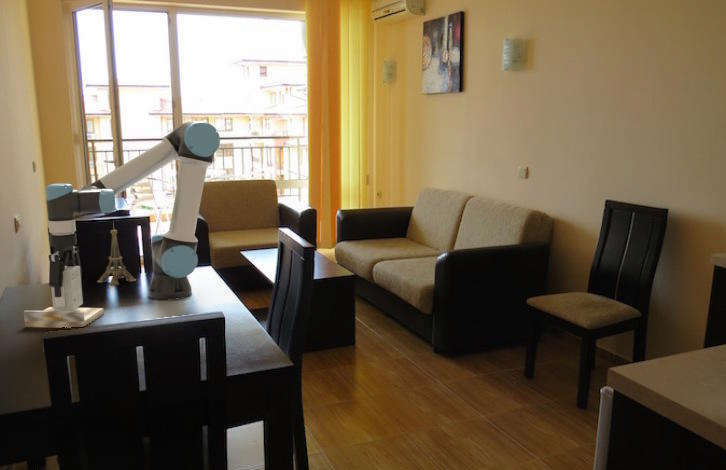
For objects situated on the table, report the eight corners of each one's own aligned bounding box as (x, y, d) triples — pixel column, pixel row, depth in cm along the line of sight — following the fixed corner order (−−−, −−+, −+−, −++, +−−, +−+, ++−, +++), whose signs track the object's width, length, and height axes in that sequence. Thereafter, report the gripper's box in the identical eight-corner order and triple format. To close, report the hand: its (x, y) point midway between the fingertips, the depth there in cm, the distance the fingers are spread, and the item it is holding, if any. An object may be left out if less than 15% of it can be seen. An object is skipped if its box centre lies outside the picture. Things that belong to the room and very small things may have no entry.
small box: (63, 304, 189) (60, 265, 186) (83, 303, 189) (80, 265, 187) (52, 311, 181) (49, 271, 178) (73, 311, 181) (70, 271, 179)
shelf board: (103, 313, 190) (102, 299, 190) (82, 328, 176) (81, 312, 176) (50, 312, 191) (48, 298, 190) (24, 327, 177) (23, 311, 176)
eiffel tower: (136, 280, 234) (133, 219, 229) (113, 285, 225) (109, 223, 220) (120, 276, 239) (116, 217, 235) (97, 281, 230) (92, 220, 226)
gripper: (68, 227, 191) (73, 292, 195) (31, 238, 170) (37, 312, 174) (90, 227, 191) (95, 293, 195) (56, 239, 170) (62, 312, 174)
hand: (68, 302), depth 185 cm, fingers closed on small box, 8 cm apart
